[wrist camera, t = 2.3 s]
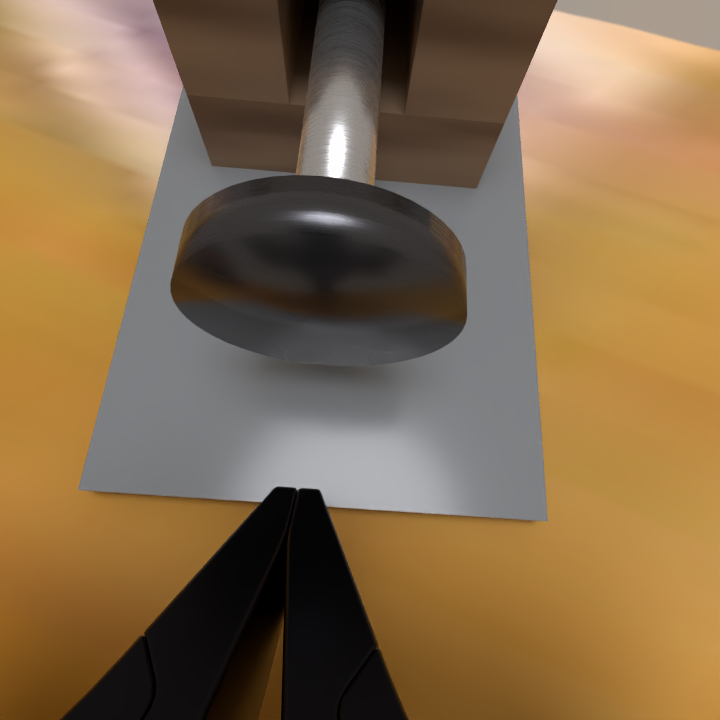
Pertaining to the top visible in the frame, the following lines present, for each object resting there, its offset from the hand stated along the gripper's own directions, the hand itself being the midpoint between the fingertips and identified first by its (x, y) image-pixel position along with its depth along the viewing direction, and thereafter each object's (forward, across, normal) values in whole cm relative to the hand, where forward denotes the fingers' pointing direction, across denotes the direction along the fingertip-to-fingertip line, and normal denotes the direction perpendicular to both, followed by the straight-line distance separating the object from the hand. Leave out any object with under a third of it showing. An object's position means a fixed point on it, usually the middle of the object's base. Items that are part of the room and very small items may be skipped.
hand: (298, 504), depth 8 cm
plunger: (+9, 0, -4) cm, 10 cm away
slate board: (+13, 0, -3) cm, 14 cm away
